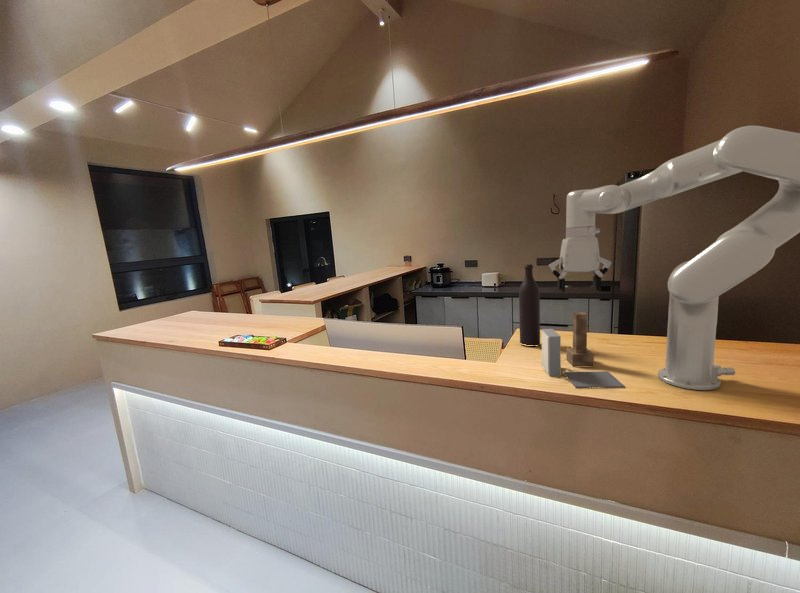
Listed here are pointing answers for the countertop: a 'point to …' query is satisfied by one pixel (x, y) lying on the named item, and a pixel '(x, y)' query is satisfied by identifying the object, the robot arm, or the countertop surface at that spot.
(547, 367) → the tile
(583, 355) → the tamper
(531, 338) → the wine bottle
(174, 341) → the countertop surface
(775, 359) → the countertop surface
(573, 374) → the mat
